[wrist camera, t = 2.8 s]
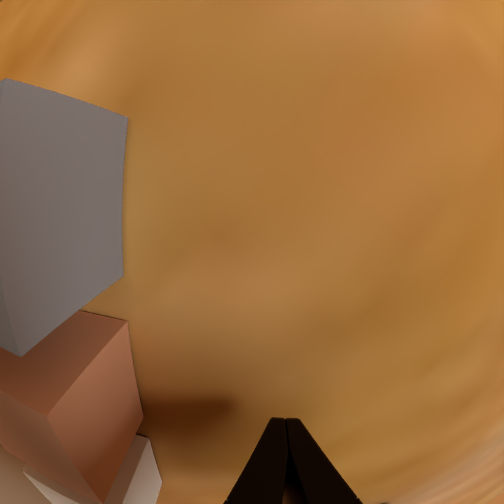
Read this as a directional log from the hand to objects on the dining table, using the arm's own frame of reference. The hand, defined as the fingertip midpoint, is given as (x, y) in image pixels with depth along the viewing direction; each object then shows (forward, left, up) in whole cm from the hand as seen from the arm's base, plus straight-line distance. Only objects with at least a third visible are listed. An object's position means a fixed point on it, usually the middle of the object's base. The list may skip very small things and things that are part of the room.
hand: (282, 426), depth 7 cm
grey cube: (+6, +7, -1) cm, 10 cm away
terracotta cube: (0, +7, -1) cm, 7 cm away
